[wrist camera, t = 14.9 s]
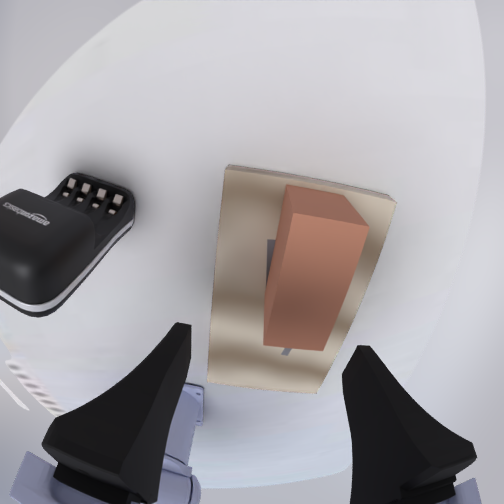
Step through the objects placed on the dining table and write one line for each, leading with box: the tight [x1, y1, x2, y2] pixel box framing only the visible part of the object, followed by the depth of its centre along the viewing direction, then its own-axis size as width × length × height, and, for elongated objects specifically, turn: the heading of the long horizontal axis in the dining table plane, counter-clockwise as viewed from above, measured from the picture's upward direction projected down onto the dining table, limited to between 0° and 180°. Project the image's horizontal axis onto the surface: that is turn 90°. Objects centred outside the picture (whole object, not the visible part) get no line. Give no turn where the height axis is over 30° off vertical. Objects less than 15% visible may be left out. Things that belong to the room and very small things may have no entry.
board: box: [207, 165, 397, 394], centre depth 22 cm, size 20×11×2 cm, turn 172°
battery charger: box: [0, 173, 134, 317], centre depth 14 cm, size 7×4×11 cm, turn 69°
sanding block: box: [263, 184, 370, 351], centre depth 16 cm, size 8×4×5 cm, turn 172°
